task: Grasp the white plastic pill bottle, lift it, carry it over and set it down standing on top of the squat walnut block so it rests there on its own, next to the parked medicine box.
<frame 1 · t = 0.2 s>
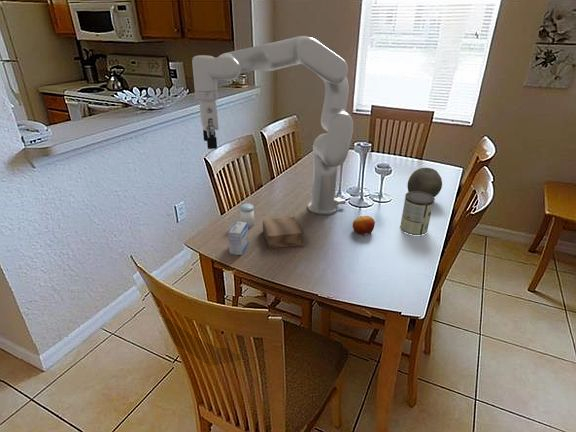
hand: (210, 144, 134), 30 cm above the table, fingers open, 9 cm apart
medicine box: (239, 249, 130), on the table
walnut block: (281, 237, 136), on the table
coffee can: (413, 230, 144), on the table
pill bottle: (247, 225, 144), on the table
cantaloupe: (421, 200, 167), on the table
fruit: (362, 232, 141), on the table
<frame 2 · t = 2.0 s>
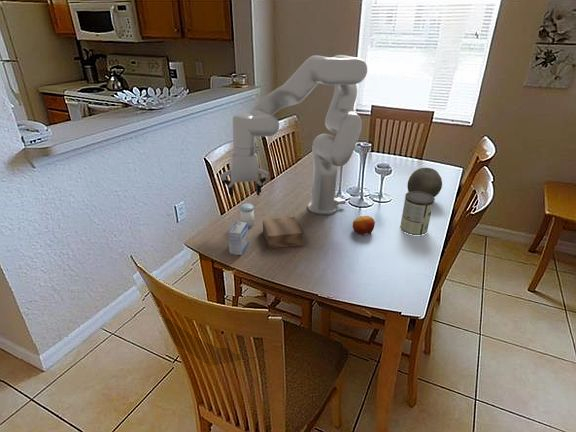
hand: (245, 195, 138), 13 cm above the table, fingers open, 9 cm apart
nothing on the table moved.
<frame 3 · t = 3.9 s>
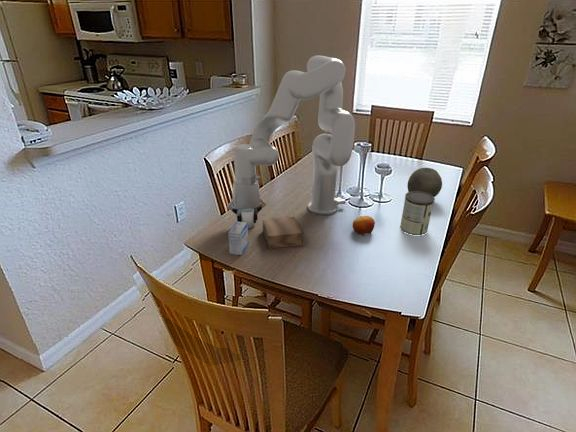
hand: (247, 222, 144), 1 cm above the table, fingers closed on pill bottle, 5 cm apart
pill bottle: (247, 224, 144), on the table, touching gripper
everything else where it was.
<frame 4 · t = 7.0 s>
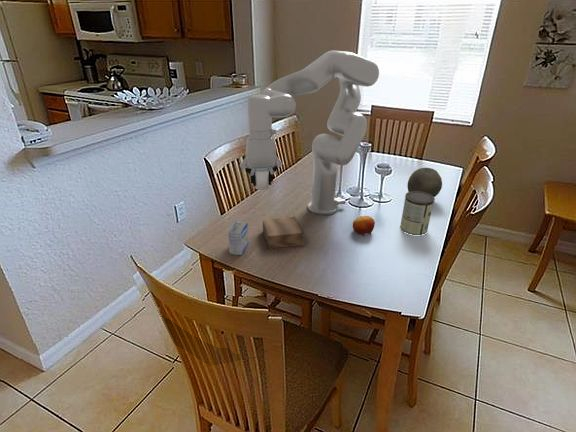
hand: (261, 183, 132), 19 cm above the table, fingers closed on pill bottle, 5 cm apart
pill bottle: (261, 187, 133), point 18 cm above the table, touching gripper
everything else where it was.
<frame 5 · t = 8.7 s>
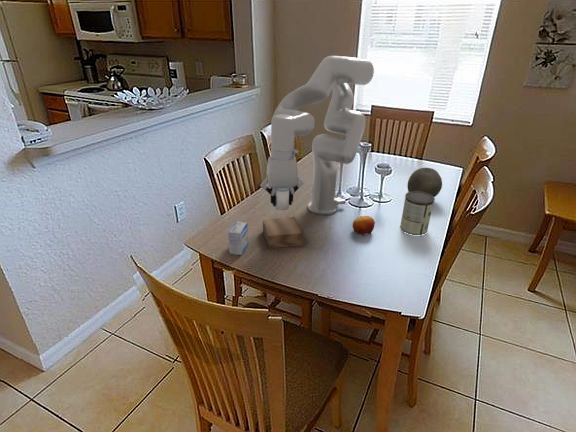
hand: (281, 203, 130), 14 cm above the table, fingers closed on pill bottle, 5 cm apart
pill bottle: (281, 206, 130), point 13 cm above the table, touching gripper
everything else where it was.
when the fingers open (7 cm above the table, at t = 10.3 s): pill bottle stays where it is, resting on walnut block.
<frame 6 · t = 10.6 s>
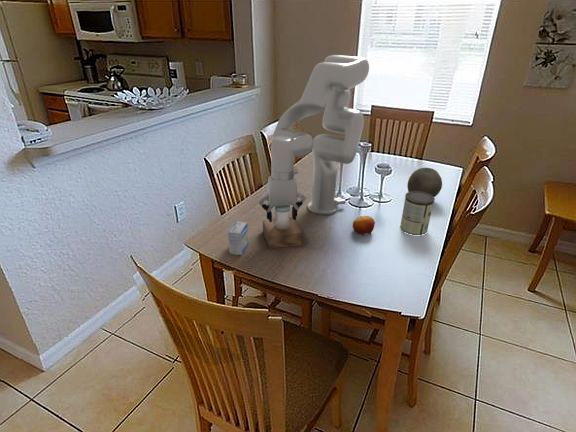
hand: (282, 219, 133), 8 cm above the table, fingers open, 8 cm apart
pill bottle: (282, 226, 134), point 5 cm above the table, touching walnut block
everything else where it was.
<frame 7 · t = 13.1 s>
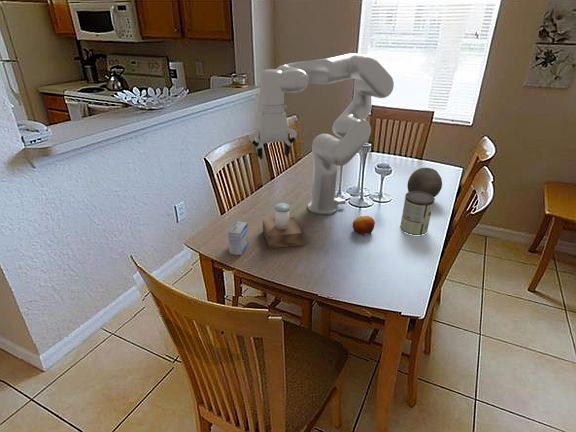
hand: (273, 156, 134), 27 cm above the table, fingers open, 9 cm apart
nothing on the table moved.
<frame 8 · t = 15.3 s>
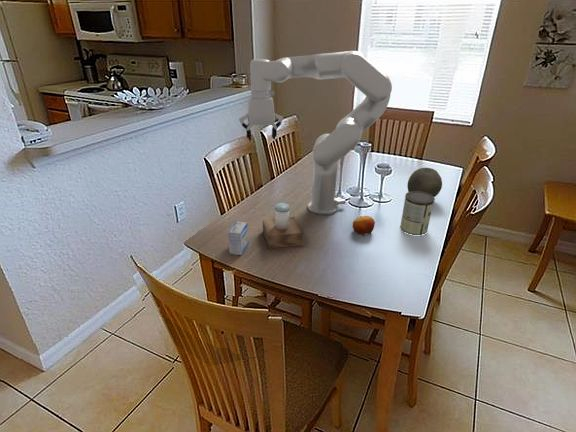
hand: (261, 139, 148), 28 cm above the table, fingers open, 9 cm apart
nothing on the table moved.
at the end: pill bottle 0.1 cm from the walnut block (horizontally); pill bottle point 5.0 cm above the table; pill bottle tilted 0° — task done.
